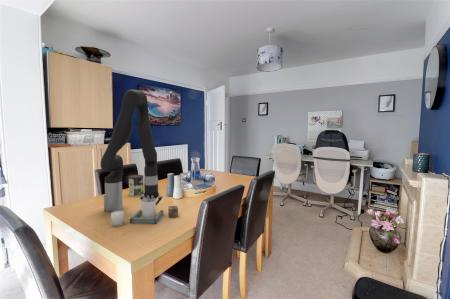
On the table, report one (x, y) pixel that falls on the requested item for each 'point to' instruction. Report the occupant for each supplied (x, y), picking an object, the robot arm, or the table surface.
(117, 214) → the white rounded block
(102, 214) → the table surface
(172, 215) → the walnut block
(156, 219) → the display frame
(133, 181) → the coffee can
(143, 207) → the white cup
